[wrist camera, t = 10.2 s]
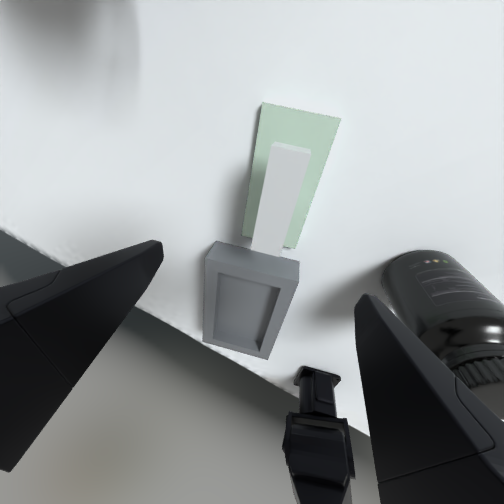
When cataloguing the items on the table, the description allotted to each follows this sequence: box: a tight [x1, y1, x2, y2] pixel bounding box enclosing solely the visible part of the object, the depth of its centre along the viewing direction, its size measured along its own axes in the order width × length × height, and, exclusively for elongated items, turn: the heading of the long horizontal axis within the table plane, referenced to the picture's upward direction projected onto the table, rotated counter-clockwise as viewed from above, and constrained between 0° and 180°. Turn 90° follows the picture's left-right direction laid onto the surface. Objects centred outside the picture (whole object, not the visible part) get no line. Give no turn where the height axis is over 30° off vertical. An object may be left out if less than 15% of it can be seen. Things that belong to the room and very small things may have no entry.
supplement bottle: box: [382, 250, 504, 420], centre depth 17 cm, size 7×7×12 cm
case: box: [202, 241, 299, 360], centre depth 28 cm, size 16×10×4 cm, turn 171°
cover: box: [241, 102, 341, 257], centre depth 18 cm, size 12×6×6 cm, turn 170°
